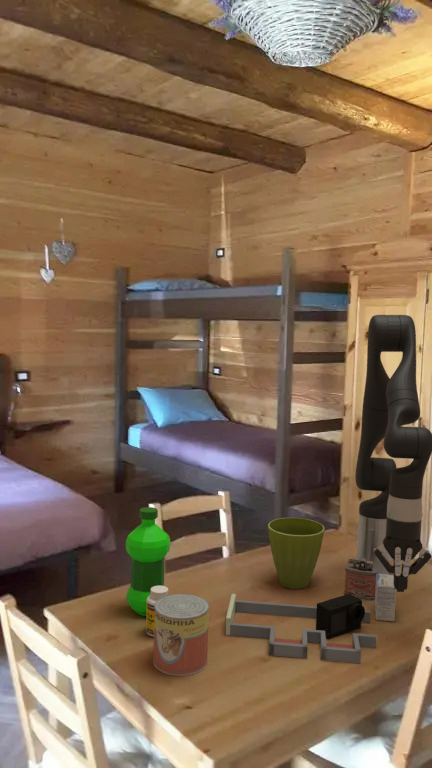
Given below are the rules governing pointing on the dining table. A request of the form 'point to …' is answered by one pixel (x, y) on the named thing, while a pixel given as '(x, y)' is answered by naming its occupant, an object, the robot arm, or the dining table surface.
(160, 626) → the canned food
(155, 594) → the supplement bottle
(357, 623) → the digital camera
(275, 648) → the channel
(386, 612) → the medicine box
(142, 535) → the plastic bottle
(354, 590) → the lighter
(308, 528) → the flower pot
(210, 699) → the dining table surface
